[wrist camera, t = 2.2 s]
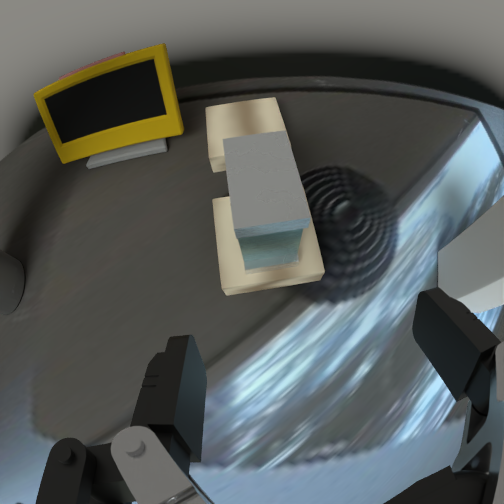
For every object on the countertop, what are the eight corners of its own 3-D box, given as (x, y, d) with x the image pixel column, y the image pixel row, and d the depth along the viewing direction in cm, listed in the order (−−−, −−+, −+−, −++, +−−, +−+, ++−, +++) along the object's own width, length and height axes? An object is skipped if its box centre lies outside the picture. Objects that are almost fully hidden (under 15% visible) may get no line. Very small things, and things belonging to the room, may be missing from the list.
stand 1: (213, 172, 36) (209, 158, 33) (209, 121, 40) (205, 107, 37) (290, 161, 36) (291, 145, 33) (275, 112, 40) (275, 97, 37)
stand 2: (226, 295, 30) (221, 288, 27) (217, 212, 34) (212, 199, 31) (319, 280, 30) (324, 271, 27) (300, 199, 34) (302, 185, 31)
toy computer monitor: (73, 176, 38) (19, 112, 24) (84, 141, 41) (41, 78, 26) (188, 150, 38) (156, 58, 23) (191, 114, 41) (166, 30, 26)
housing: (246, 274, 28) (233, 229, 18) (236, 203, 31) (222, 139, 21) (297, 266, 28) (310, 217, 18) (282, 196, 31) (285, 130, 21)
